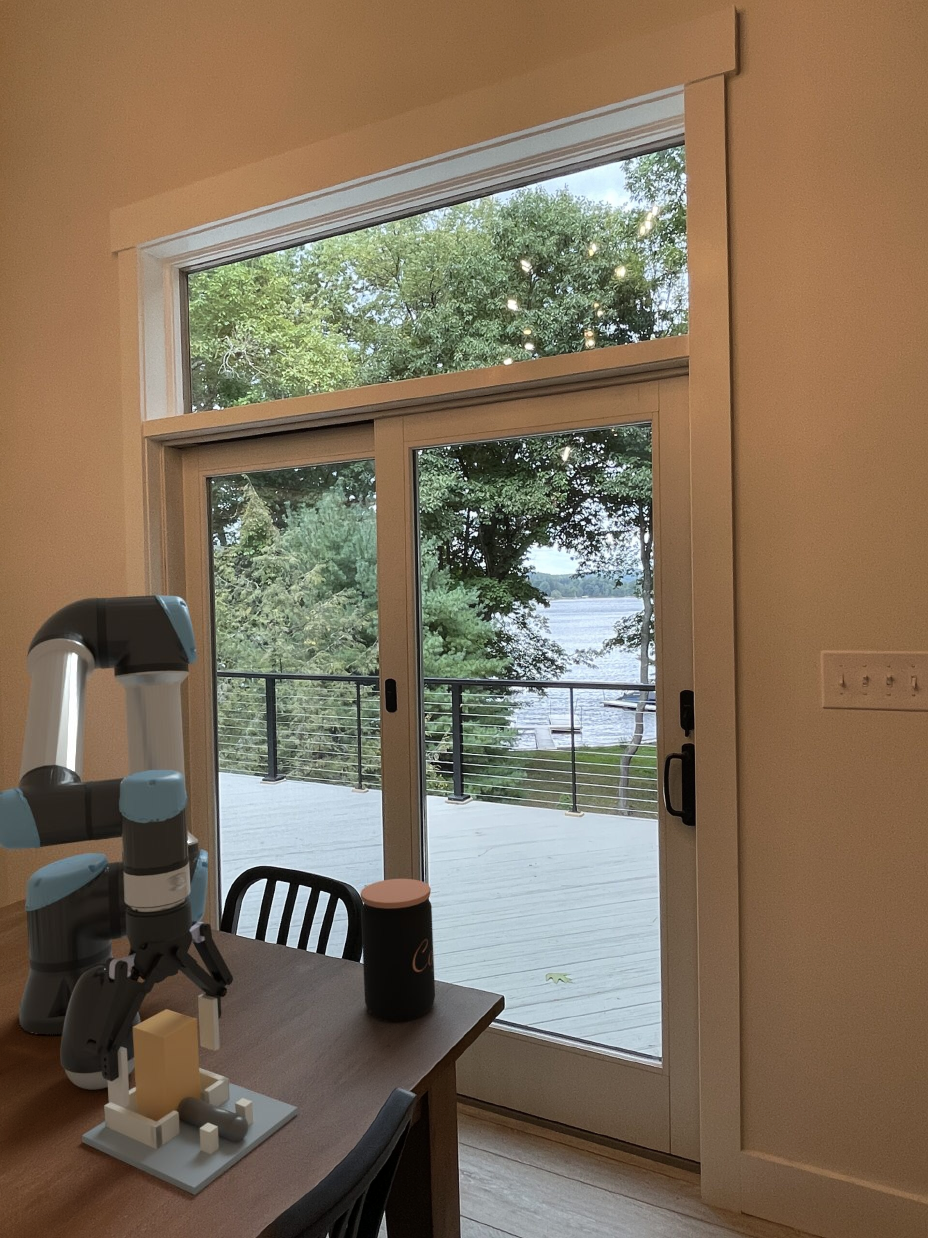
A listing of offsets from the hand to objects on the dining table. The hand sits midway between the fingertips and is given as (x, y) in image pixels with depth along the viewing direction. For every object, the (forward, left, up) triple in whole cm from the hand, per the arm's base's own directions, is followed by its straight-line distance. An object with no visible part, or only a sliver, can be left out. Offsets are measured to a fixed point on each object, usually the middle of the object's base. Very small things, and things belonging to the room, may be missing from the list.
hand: (167, 1074), depth 105 cm
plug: (+5, 0, -5) cm, 7 cm away
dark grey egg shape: (-15, +2, -6) cm, 16 cm away
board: (+4, 0, -6) cm, 7 cm away
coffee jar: (+9, +36, -6) cm, 38 cm away
